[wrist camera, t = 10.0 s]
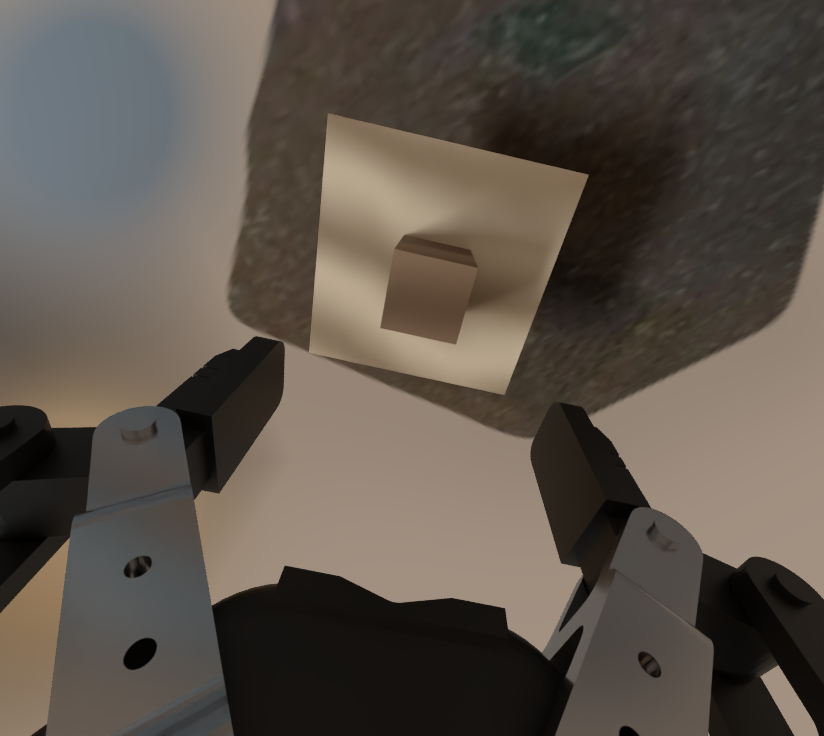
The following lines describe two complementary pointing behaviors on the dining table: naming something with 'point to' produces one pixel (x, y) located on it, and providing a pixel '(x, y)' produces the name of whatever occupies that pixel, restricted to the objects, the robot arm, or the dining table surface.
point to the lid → (433, 253)
